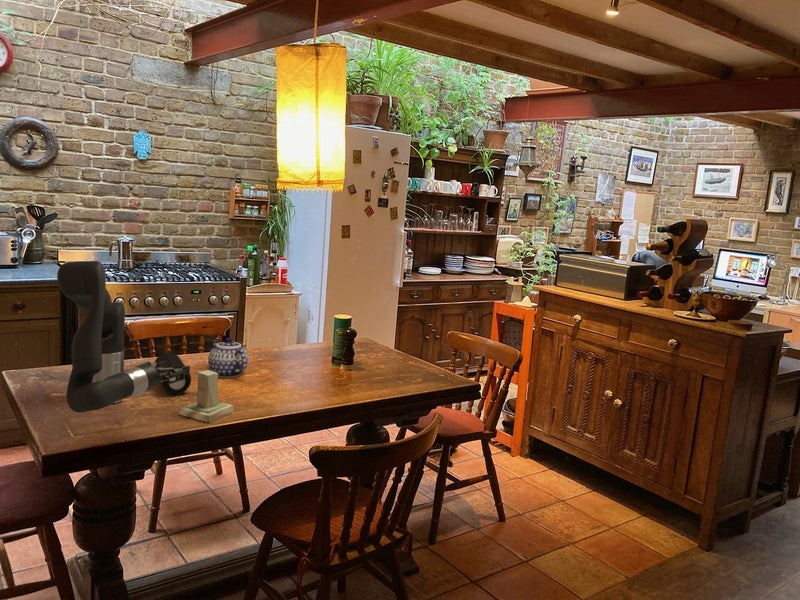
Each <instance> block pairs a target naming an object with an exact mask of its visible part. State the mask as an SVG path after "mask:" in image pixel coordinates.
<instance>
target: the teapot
mask: <svg viewBox="0 0 800 600" xmlns="http://www.w3.org/2000/svg"><path fill="white" fill-rule="evenodd" d="M212 345H213V348H212V349H211V350H210V351H209V354H208V358H207V361H208V362H207V364H208V368H209V370H210V371H213V372H216V373H218V378H221V377H223V378H222V379H231V378H237V377H240V376H241V375H242V373H244V372H245V370H246V368H247V367H248V361H249V356H248V352H247V349H245V348H244V347H243V346H242V344H241V343H240V342H235V341H233V338H232V337H226V338H225V341H221V342H220V341H219V340H217V339H216V340H215V339H214V340H212Z"/></svg>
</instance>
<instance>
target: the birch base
mask: <svg viewBox="0 0 800 600" xmlns="http://www.w3.org/2000/svg"><path fill="white" fill-rule="evenodd" d="M234 406H235V405H234V404H230V403H226V402H221V401H218V400H217V405H216V406H213V407H210V408H204V407H202V406H199V405H197V401H193V402H192V403H189V404H187V405H185V406H182V407H180V408H179V410H178V412H179V413H178V415H179V414H181V415H184V416H188V417H191V418H195V419H198V420H197V421H199V420H203V421H205V422H204V423H207V422H209V423H208V424H211V423H213V422H215V421H218V420H219V418H220V419H222V418H224V417H226V416H229V415H231V414H233V413H234ZM232 412H233V413H232ZM230 413H231V414H230ZM228 414H229V415H228ZM225 415H226V416H225ZM223 416H224V417H223ZM221 417H222V418H221ZM191 418H190V419H191ZM195 419H194V420H195ZM217 419H218V420H217ZM203 421H202V422H203ZM212 421H213V422H212ZM210 422H211V423H210Z"/></svg>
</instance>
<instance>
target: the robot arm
mask: <svg viewBox="0 0 800 600" xmlns="http://www.w3.org/2000/svg"><path fill="white" fill-rule="evenodd" d="M56 278H57V279H56V280H57V283H58V287H59V290H60V291H61V293H62V294H63V295H64V296H65V297H66V298H68V299H69V300H71V301H72V302H74V304H75V306H76V307H77V308H78V309H79V311H81V312H82V313H83V315H84V319H83V320H82V322H81V324H80V325H79V327H78V328H77V330H76V332H75V334H74V335H73V338H72V342H71V365H72V366H71V367H72V368H71V371H70V376H69V380H68V384H67V389H66V393H65V394H66V395H65V396H66V398H65V399H66V403H67V405H68V407H69V408H70V409H71V410H72V411H73V412H75V413H80V414H81V413H87V412H91V411H98V410H101V409H105V408H107V407H109V406H111V405H114V404H113V403H115V402H118V401H121V400H122V399H124V400H125V399H127V398H129V397H130V398H131V397H134V396H138V395H140V394H143V393H146V392H149V391H151V390H153V389H155V388H156V387H157V386H158V384H159V383H161V382H163V381H167V380H168V381H169V384H172V383H175V382H178V381H181V380H184V379H185V374H188V373H190V374H191V366H189V365H185V367H182V368H180V369H173V368H167V366H168V361H162V362H159V363H154V362H152V363H151V362H150V361H145V362H144V363H141V364H139V365H135V367H131V368H129V369H125V321H126V310H125V309H126V308H125V305H124V304H123V303H122V302H115V301H114V302H113V301H112V296H111V294H110V292H109V291H108V289H107V288H106V272H105V268H104V266H103V264H102V263H101V261H100V260H89V261H88V260H87V261H85V260H81V261H68V262H63V263H62V264H61V265H60V266H59V267H58V270H57V273H56ZM103 331H112V332H113V333H112V334H110V335H109V336H107V337H104V338H102V334H103ZM168 371H171V374H169V376H168ZM174 372H176V373H174Z"/></svg>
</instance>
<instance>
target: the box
mask: <svg viewBox="0 0 800 600" xmlns="http://www.w3.org/2000/svg"><path fill="white" fill-rule="evenodd" d="M218 384H219V377H218V373H216V372H213V371H211V370H210V369H206V370H202V371H198V372H197V392H196V402H197V405H199V406H202V407H204V408H210V407H213V406H216V405H217V401H218V386H219V385H218Z"/></svg>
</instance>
